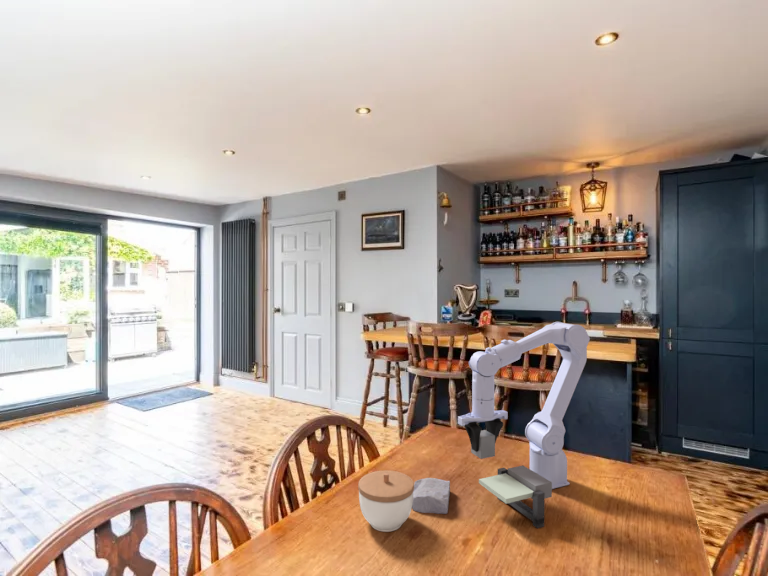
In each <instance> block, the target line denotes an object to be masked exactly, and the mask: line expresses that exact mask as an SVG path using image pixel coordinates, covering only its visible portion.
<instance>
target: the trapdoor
mask: <svg viewBox="0 0 768 576" xmlns="http://www.w3.org/2000/svg"><path fill="white" fill-rule="evenodd" d="M507 470H508V474H506V473H505V474H500V475H498V474H497V475H492V476H488V477H483V478H478V484H480V485H481V486H482V487H483V488H485V489H486V490H487V491H488V492H490V493H491V494H493V495H494V496H495V497H498V498H499V499H501V500H502V501H501V502H503V503H504V504H505V505H506V504H508V503H511V502H515V501H519V500H520V501H522V500H528V499H532V500H533V492H534V491H538V490H540V491H542V492H544V493H545V497H544V500H546V499H549V498H552V497H553V496H552V495H553V492H552V490H553V489H552V482H550V481H549V480H547V479H545V478H544V477H542V476H540V475H539V474H537V473H535V472H533V471H532V470H530V468H529V467H527V466H525V465H519V466H514V467H507ZM499 499H498V500H499Z"/></svg>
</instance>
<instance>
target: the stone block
mask: <svg viewBox="0 0 768 576" xmlns="http://www.w3.org/2000/svg"><path fill="white" fill-rule="evenodd" d="M450 492H451V482H450V480H445V479H439V478H437V477H436V478H434V477H425V478H420V479H417V480H415V481H414V491H413V505H412V509H411V510H413V511H415V512H419V513H422V514H424V513H425V514H438V515H440V514H441V515H442V514H443V515H447V514H448V512H449V505H450V504H449V502H450V494H451V493H450Z"/></svg>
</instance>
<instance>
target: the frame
mask: <svg viewBox="0 0 768 576" xmlns="http://www.w3.org/2000/svg"><path fill="white" fill-rule="evenodd" d="M505 473H506V474H508V468H506V467H500V468H497V475H500V474H505ZM496 497H497V496H496ZM544 497H545V493H544V492H542V491H540V490H538V491H534V492H533V499H532V508H531V507H530V506H529V505H527V504H526V503H524V502H523V501H522V500H519V501H515V502H511V503H507V504H508V505H510V506H511V507H513V508H514V509H515V510H517V511H518V512H519V513H521V514H522V515H523V516H524V517H526V518H527V519H529V520H530V521H531V522H532V526H533V527H535V528H536V529H541V528H544V527H545V499H544ZM497 500H499V501H500V502H503V501H502V500H501V499H499V498H498V497H497Z"/></svg>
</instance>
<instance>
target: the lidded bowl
mask: <svg viewBox="0 0 768 576" xmlns="http://www.w3.org/2000/svg"><path fill="white" fill-rule="evenodd" d="M414 483H415V481H414V480H413V479H412V478H411V476H409V475H408V474H405V473H404V472H400V471H396V470H387V469H386V470H376V471H372V472H369V473H367V474H364V475H363V476H361V478H360V479H359V481H358V485H357V486H358V500H359V506H360V507H359V508H360V511H361V514H362V515H363V517H364V519H365V520H366V521H367V522H368V523H369V525H370V526H371V528H373V529H374V530H375V531H378V532H382V533H383V532H384V533H389V532H394V531H397V530H398V529H400V528H401V527H402V525H403V524H404V523H405V522H406V521H407V520H408V518H409V517H410V515H411V512H412V510H413V509H412V505H413V491H414Z"/></svg>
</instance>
